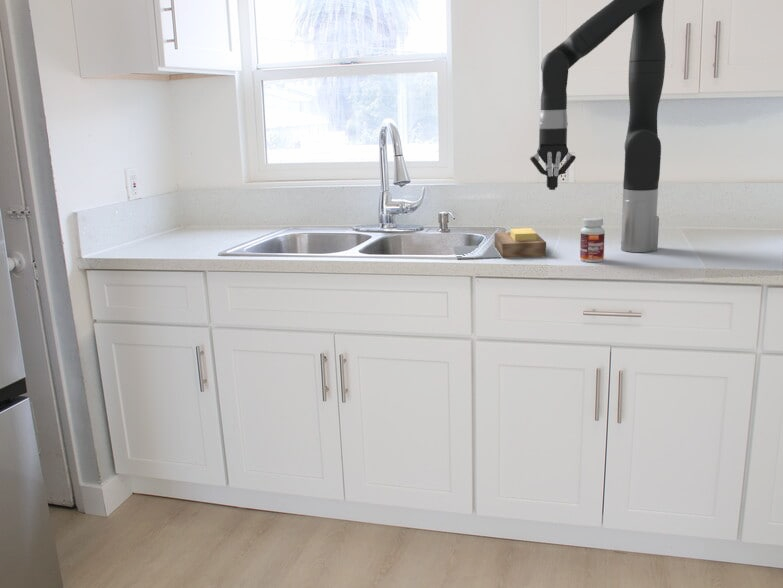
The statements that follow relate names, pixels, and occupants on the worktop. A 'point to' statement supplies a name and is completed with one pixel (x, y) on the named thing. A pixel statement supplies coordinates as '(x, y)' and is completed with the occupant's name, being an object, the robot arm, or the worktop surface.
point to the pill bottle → (592, 240)
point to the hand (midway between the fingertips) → (551, 189)
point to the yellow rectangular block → (523, 234)
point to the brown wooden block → (519, 246)
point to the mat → (468, 249)
